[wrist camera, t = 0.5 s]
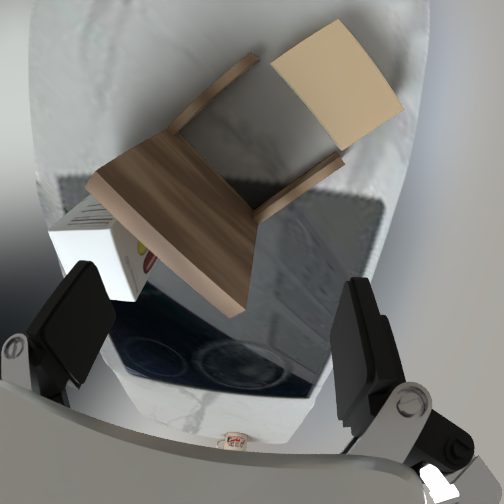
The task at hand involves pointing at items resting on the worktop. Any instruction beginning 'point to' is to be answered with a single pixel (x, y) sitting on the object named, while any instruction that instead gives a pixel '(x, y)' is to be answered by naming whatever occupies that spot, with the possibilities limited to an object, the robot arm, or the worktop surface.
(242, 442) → the teacup with lid
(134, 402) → the worktop surface
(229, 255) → the display stand
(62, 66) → the worktop surface
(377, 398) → the robot arm
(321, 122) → the carton
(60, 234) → the supplement box
